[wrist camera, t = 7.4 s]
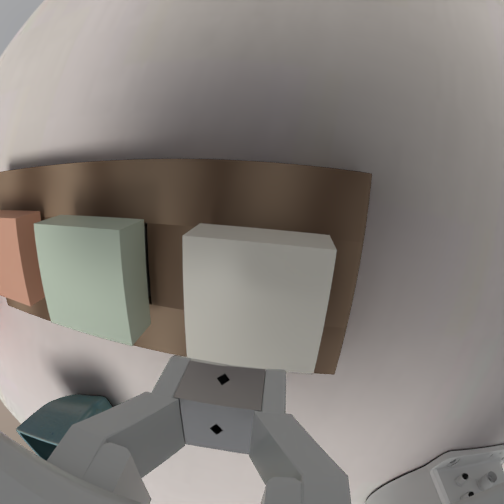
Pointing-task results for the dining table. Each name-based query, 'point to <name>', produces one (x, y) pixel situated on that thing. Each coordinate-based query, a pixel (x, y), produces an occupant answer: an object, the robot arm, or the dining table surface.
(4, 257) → the pink square block
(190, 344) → the white square block
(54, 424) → the flower pot
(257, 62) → the dining table surface
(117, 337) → the sage tile
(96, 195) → the button board
